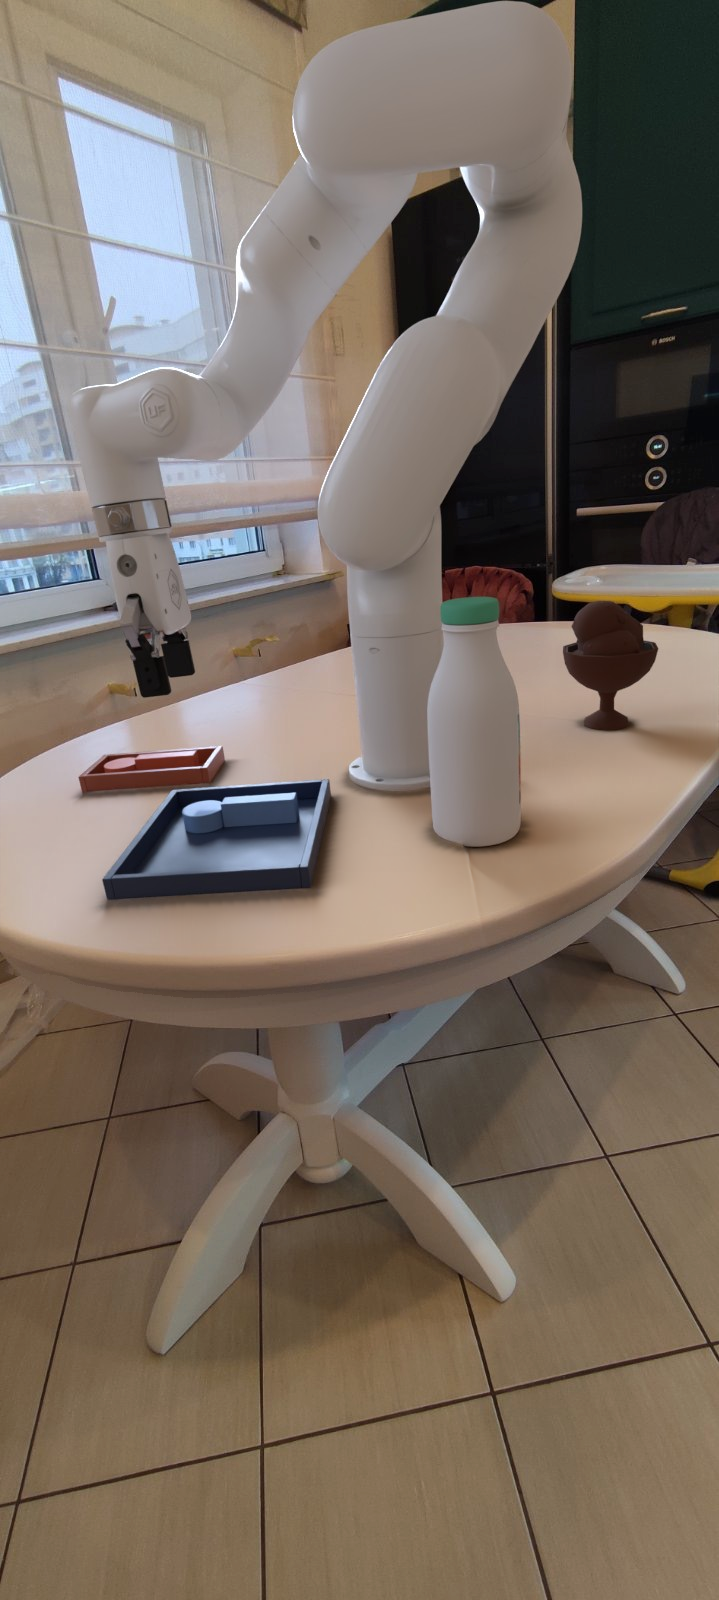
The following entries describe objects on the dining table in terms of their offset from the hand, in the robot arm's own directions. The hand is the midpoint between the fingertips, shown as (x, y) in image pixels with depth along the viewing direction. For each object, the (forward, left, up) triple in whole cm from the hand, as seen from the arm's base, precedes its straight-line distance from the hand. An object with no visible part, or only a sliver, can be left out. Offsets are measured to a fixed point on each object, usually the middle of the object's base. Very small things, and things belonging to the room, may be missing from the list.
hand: (170, 685), depth 81 cm
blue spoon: (-10, +16, -11) cm, 21 cm away
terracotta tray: (+4, 0, -11) cm, 12 cm away
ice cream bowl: (-51, -9, -11) cm, 53 cm away
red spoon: (+4, 0, -11) cm, 11 cm away
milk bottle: (-32, +20, -11) cm, 39 cm away
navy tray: (-10, +20, -11) cm, 25 cm away
